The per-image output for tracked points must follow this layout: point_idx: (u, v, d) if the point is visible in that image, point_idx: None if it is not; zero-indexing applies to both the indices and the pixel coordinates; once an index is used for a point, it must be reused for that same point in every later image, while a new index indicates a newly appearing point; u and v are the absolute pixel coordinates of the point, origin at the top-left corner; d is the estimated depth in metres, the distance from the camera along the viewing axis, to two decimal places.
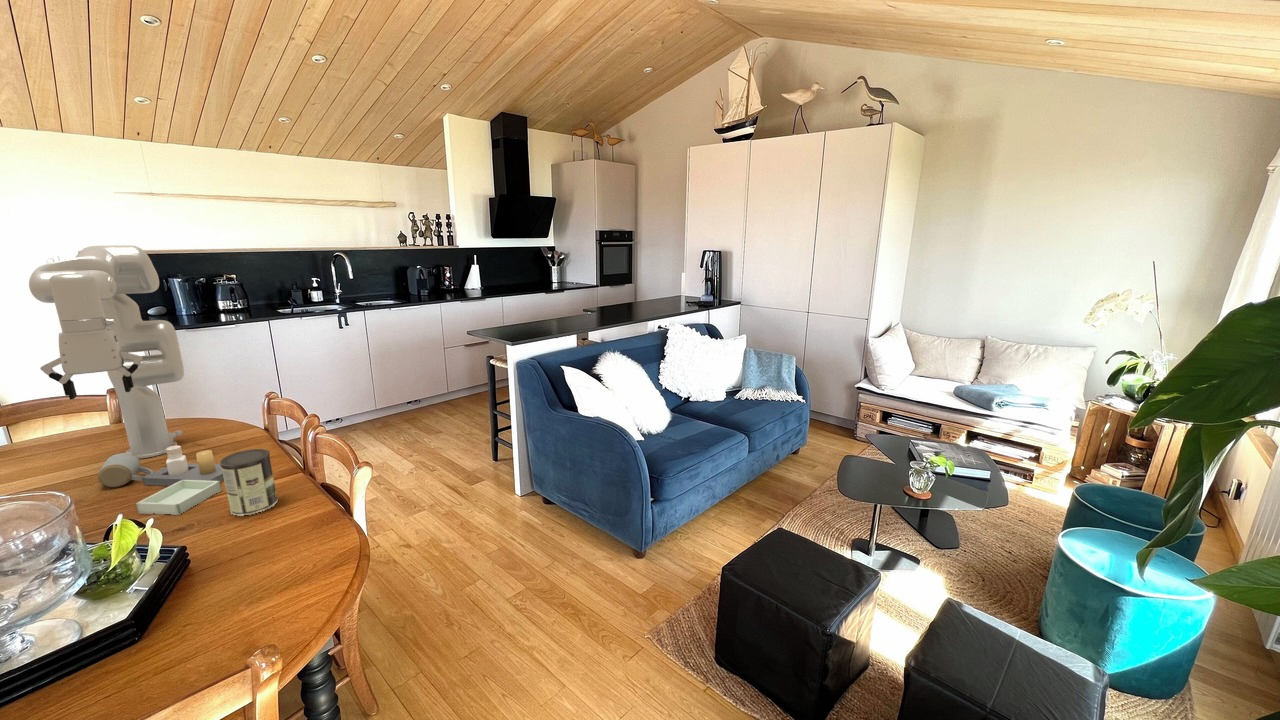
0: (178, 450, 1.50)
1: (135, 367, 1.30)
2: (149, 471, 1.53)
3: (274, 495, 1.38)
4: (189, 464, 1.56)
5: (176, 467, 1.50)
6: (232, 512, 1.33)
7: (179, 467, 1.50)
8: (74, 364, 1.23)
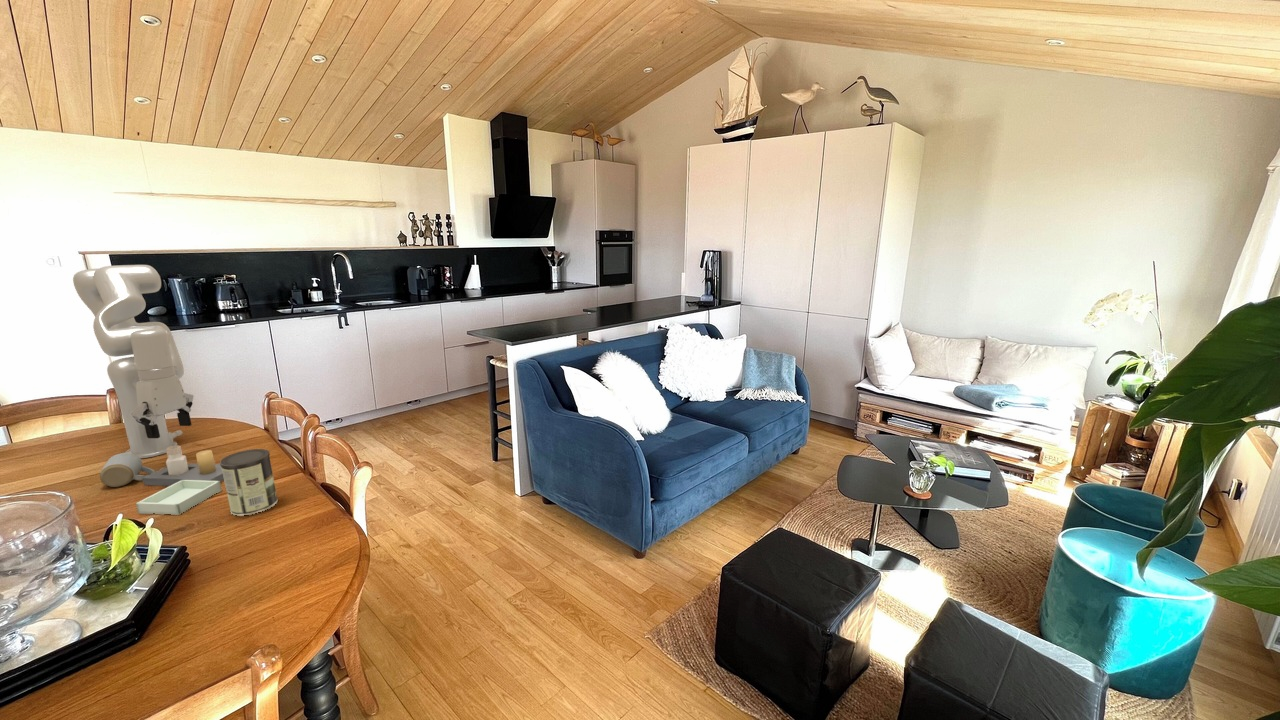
0: (178, 450, 1.50)
1: (191, 404, 1.54)
2: (151, 471, 1.53)
3: (274, 495, 1.38)
4: (189, 464, 1.56)
5: (176, 467, 1.50)
6: (232, 512, 1.33)
7: (179, 467, 1.50)
8: (161, 406, 1.44)
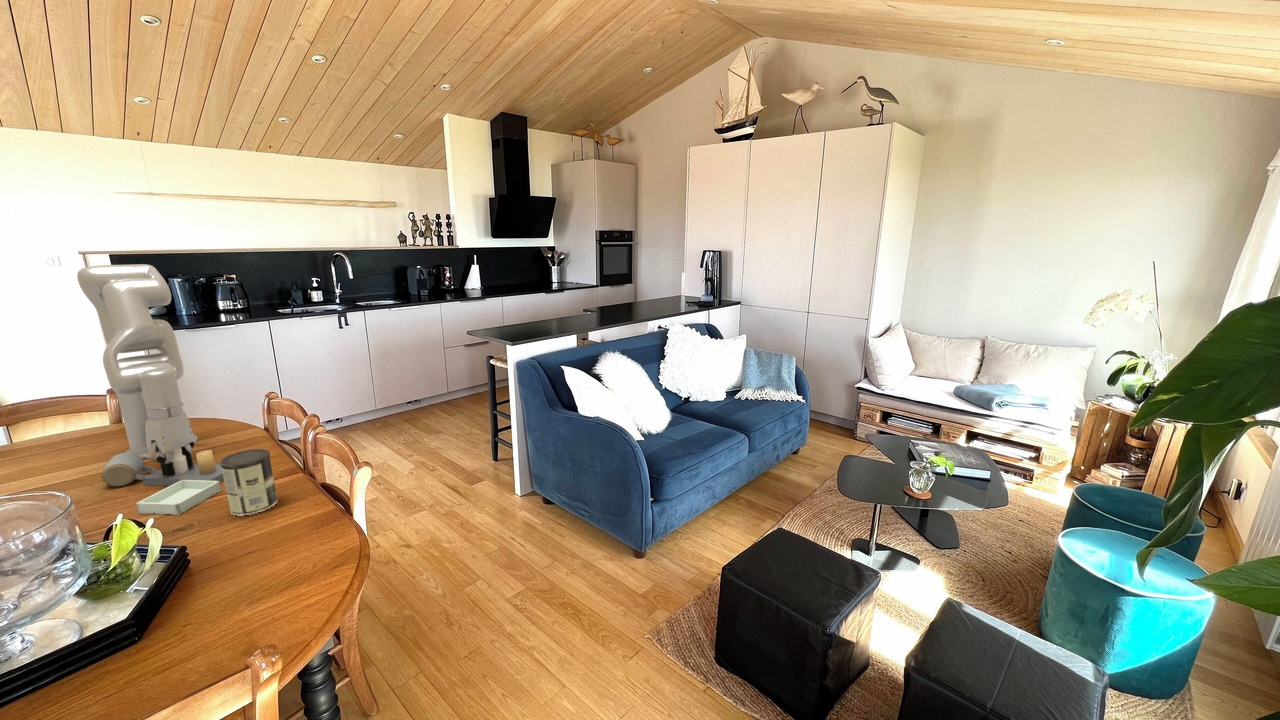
0: (178, 450, 1.50)
1: (193, 444, 1.55)
2: (153, 470, 1.54)
3: (274, 495, 1.38)
4: None
5: (176, 467, 1.50)
6: (232, 512, 1.33)
7: (179, 467, 1.50)
8: (170, 444, 1.47)
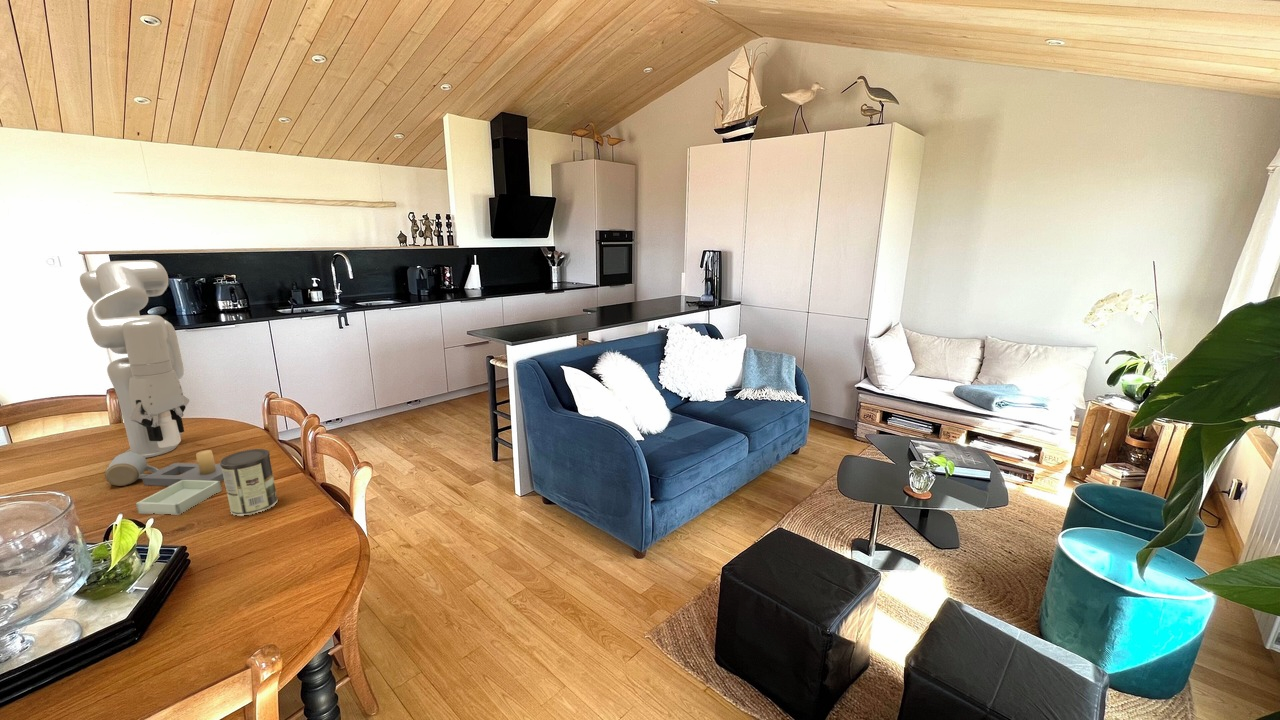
0: (167, 412, 1.33)
1: (184, 408, 1.39)
2: (156, 470, 1.54)
3: (274, 495, 1.38)
4: (189, 464, 1.56)
5: (164, 432, 1.33)
6: (232, 512, 1.33)
7: (168, 432, 1.33)
8: (157, 405, 1.30)
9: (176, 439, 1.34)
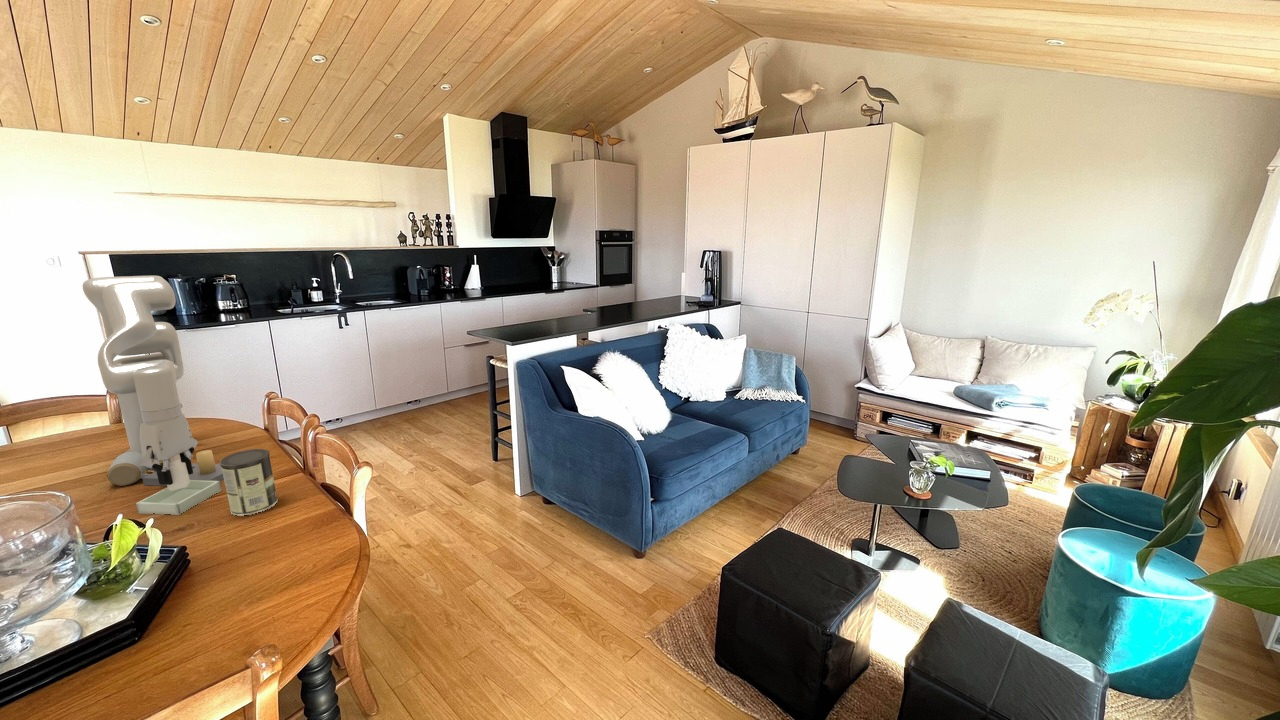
0: (176, 456, 1.36)
1: (193, 450, 1.41)
2: None
3: (274, 495, 1.38)
4: None
5: (174, 475, 1.35)
6: (232, 512, 1.33)
7: (177, 475, 1.36)
8: (167, 449, 1.32)
9: (185, 482, 1.37)
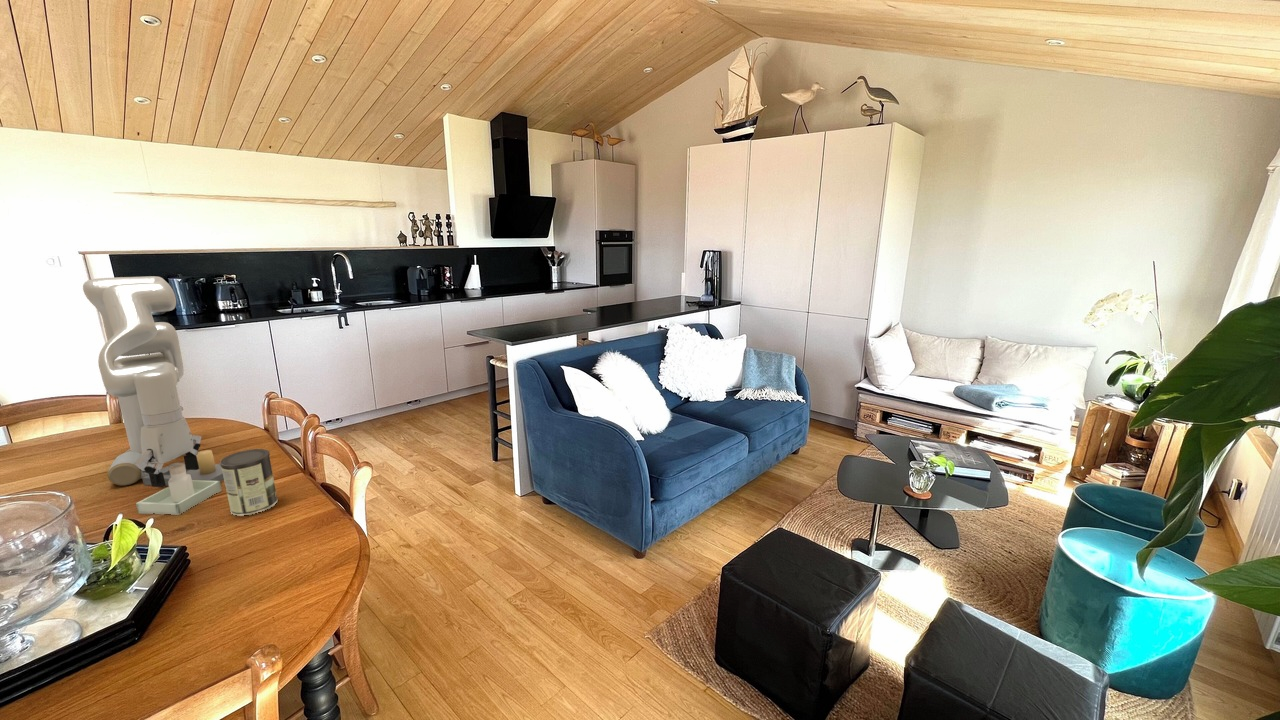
0: (182, 469, 1.37)
1: (199, 446, 1.43)
2: None
3: (274, 495, 1.38)
4: None
5: (178, 488, 1.37)
6: (232, 512, 1.33)
7: (182, 488, 1.37)
8: (167, 453, 1.33)
9: (189, 494, 1.38)
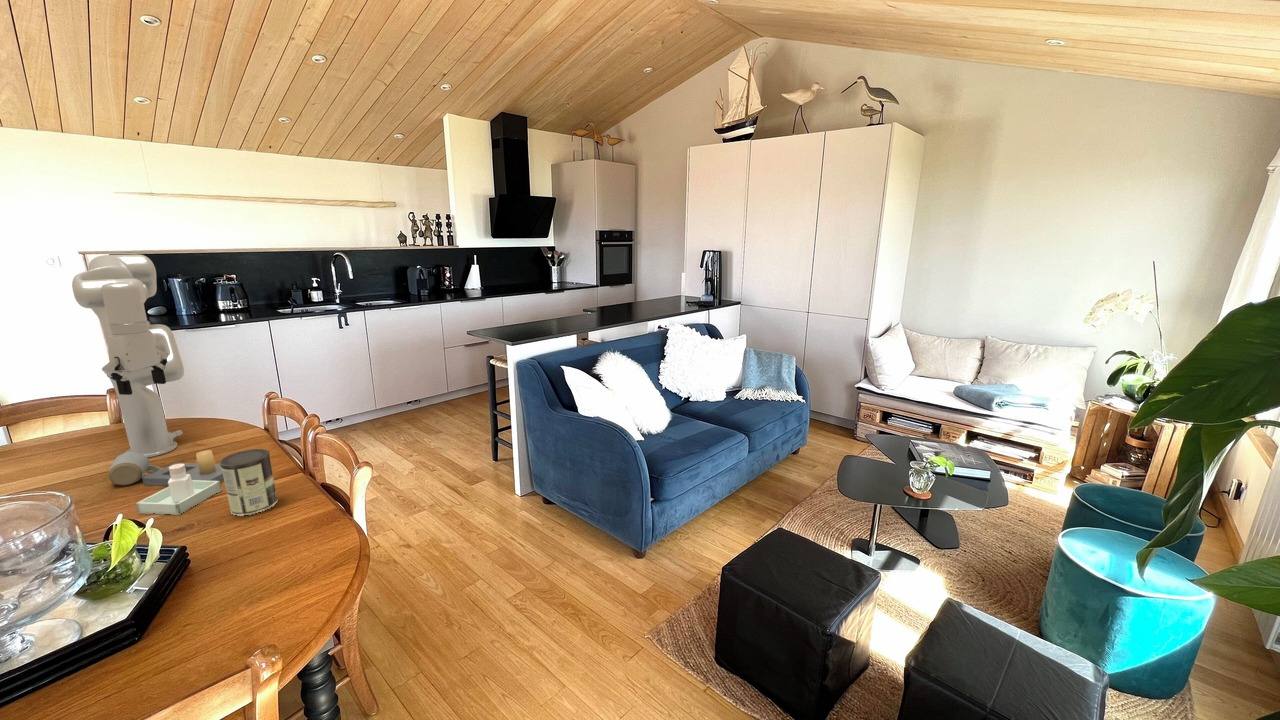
0: (181, 469, 1.37)
1: (166, 361, 1.50)
2: (158, 469, 1.54)
3: (274, 495, 1.38)
4: (189, 464, 1.56)
5: (178, 488, 1.37)
6: (232, 512, 1.33)
7: (181, 488, 1.37)
8: (134, 362, 1.40)
9: (189, 494, 1.38)
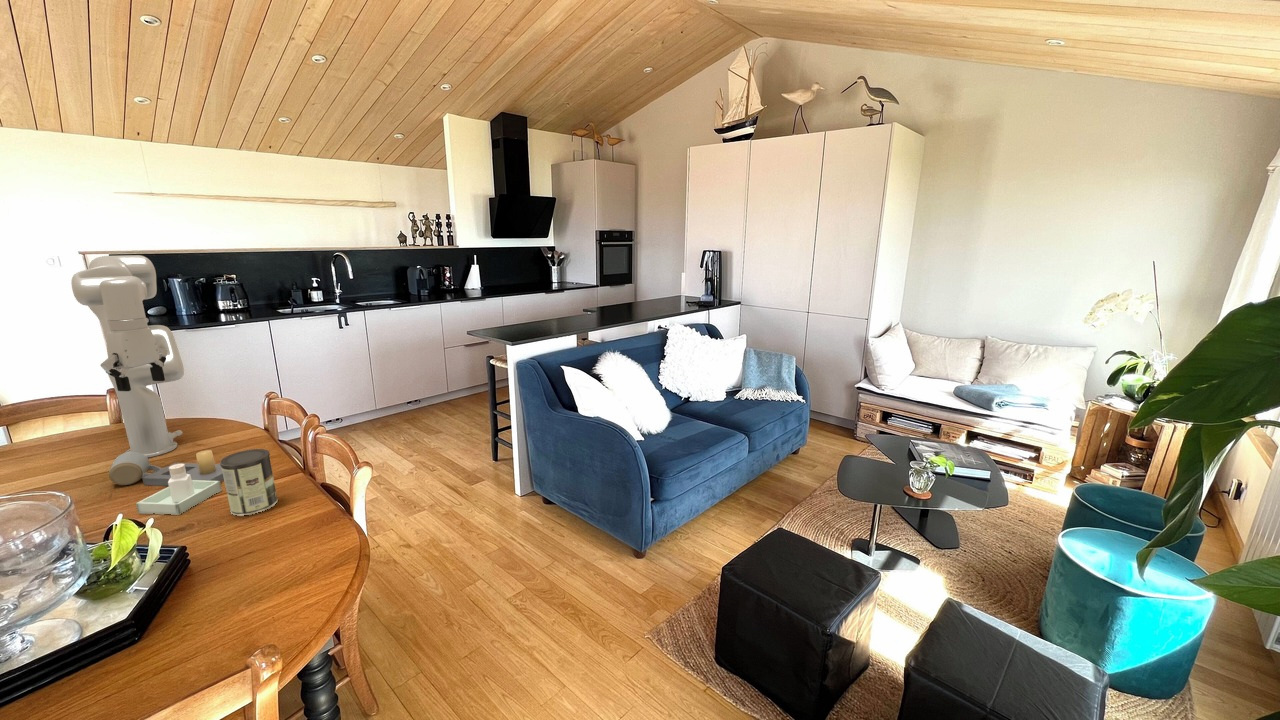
0: (181, 469, 1.37)
1: (165, 359, 1.50)
2: (158, 469, 1.54)
3: (274, 495, 1.38)
4: (189, 464, 1.56)
5: (178, 488, 1.37)
6: (232, 512, 1.33)
7: (181, 488, 1.37)
8: (133, 358, 1.40)
9: (189, 494, 1.38)
